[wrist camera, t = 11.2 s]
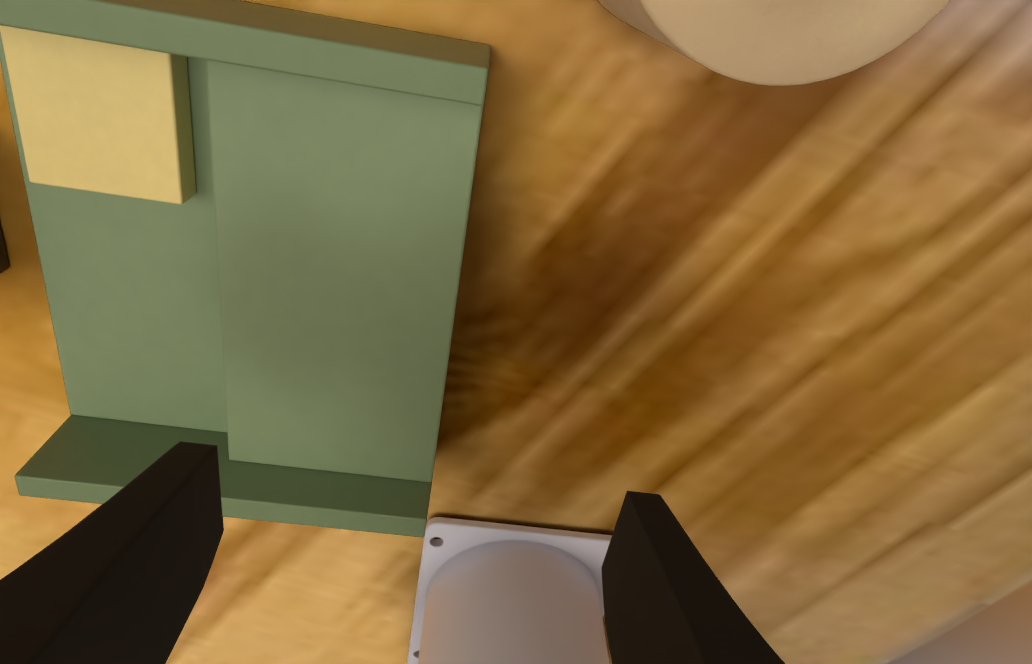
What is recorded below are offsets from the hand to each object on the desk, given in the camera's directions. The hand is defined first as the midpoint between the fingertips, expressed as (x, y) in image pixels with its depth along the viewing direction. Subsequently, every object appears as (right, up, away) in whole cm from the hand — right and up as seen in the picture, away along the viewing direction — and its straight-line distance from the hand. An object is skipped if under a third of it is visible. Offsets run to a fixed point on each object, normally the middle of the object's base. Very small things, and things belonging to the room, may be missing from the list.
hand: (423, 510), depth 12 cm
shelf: (-6, +6, +9) cm, 12 cm away
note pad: (-9, +9, +5) cm, 13 cm away
